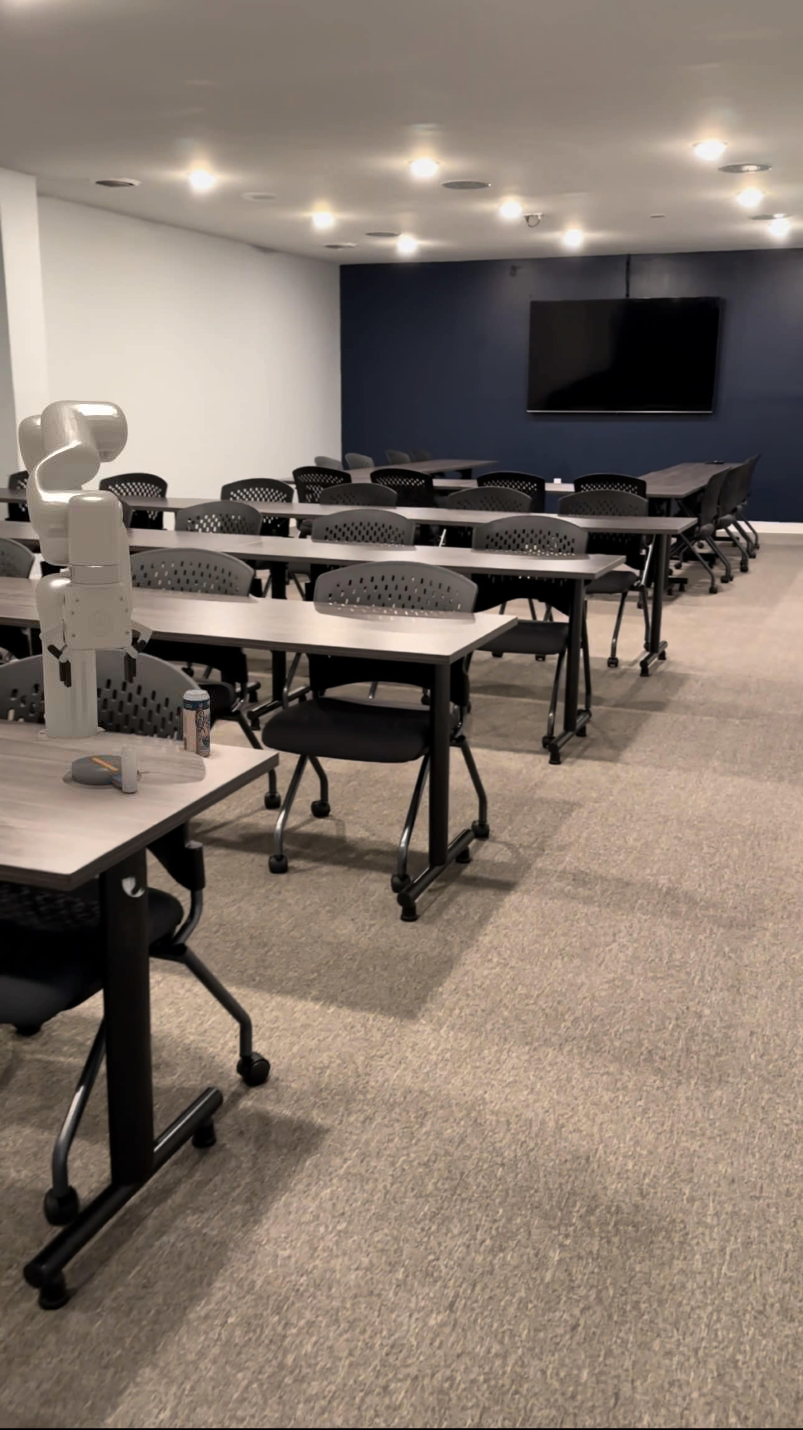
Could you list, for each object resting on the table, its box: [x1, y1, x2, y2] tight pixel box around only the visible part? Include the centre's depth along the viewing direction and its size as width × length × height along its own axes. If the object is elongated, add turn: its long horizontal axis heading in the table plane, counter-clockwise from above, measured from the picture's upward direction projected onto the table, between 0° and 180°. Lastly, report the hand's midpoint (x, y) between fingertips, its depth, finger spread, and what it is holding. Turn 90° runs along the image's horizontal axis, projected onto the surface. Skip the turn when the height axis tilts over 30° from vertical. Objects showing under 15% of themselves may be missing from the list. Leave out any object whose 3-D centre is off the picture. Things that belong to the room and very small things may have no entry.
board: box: [62, 770, 150, 790], centre depth 207 cm, size 20×17×1 cm
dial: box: [70, 746, 138, 793], centre depth 202 cm, size 16×10×7 cm, turn 40°
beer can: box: [182, 688, 211, 758], centre depth 223 cm, size 5×5×12 cm
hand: (98, 683), depth 192 cm, fingers open, 9 cm apart
